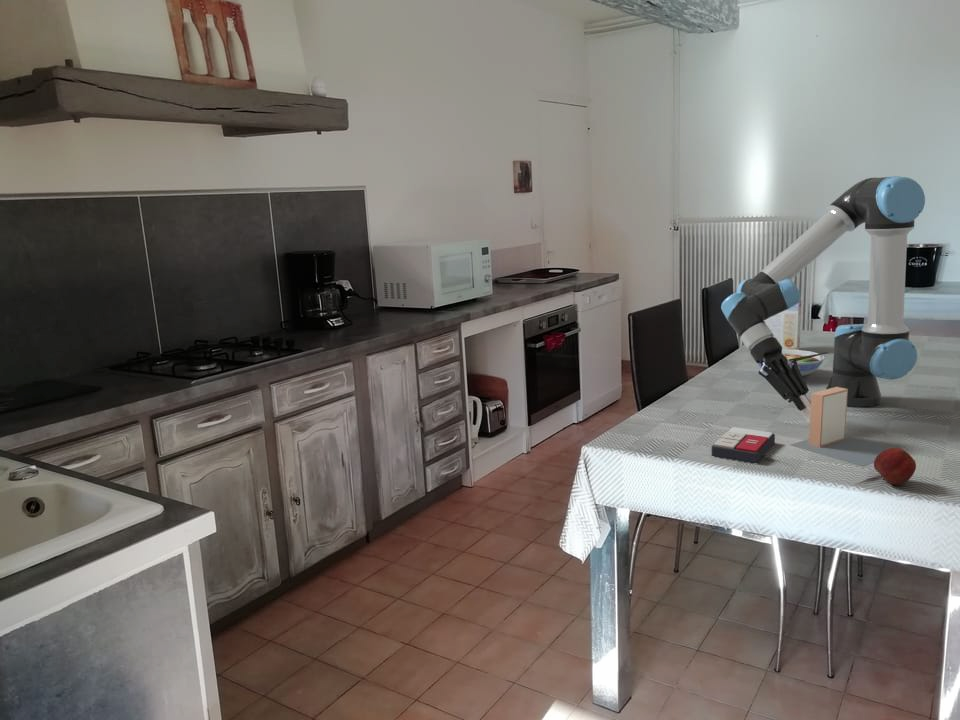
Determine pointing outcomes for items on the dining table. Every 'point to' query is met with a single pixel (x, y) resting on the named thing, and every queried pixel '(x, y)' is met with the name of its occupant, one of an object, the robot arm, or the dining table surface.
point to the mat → (848, 450)
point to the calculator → (743, 445)
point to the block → (828, 416)
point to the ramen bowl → (803, 360)
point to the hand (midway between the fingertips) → (813, 419)
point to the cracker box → (787, 327)
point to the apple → (895, 465)
